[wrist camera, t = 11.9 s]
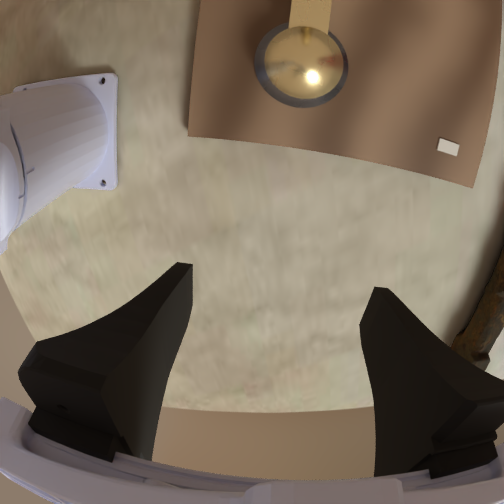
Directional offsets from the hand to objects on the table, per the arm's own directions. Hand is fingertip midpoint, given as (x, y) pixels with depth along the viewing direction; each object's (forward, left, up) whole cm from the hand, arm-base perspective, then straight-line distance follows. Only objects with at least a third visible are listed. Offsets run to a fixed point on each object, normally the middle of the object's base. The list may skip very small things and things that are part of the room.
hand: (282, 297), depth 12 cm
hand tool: (+21, -6, -10) cm, 24 cm away
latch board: (+3, +13, -9) cm, 16 cm away
